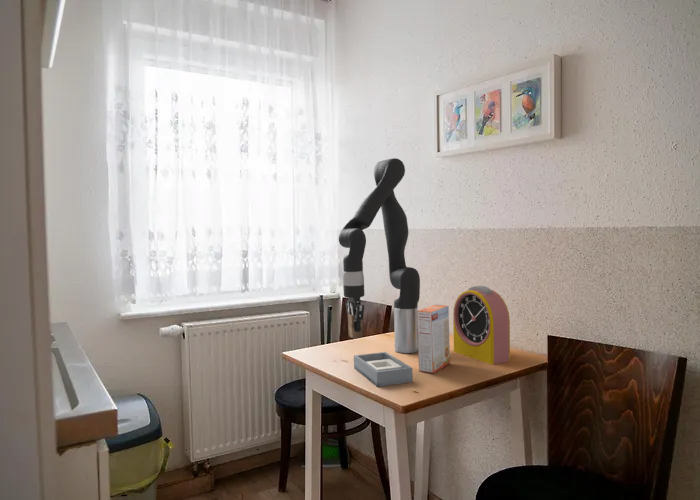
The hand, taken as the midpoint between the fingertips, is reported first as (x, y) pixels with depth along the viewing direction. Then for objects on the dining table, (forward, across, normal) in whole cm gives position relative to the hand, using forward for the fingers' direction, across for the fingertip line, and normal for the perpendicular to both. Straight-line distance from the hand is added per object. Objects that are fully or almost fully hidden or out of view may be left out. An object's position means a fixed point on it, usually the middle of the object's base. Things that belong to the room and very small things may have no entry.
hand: (355, 330), depth 171 cm
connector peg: (+2, 0, 0) cm, 2 cm away
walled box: (+12, -18, -2) cm, 21 cm away
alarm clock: (+13, -11, -46) cm, 49 cm away
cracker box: (+12, -17, -22) cm, 31 cm away
